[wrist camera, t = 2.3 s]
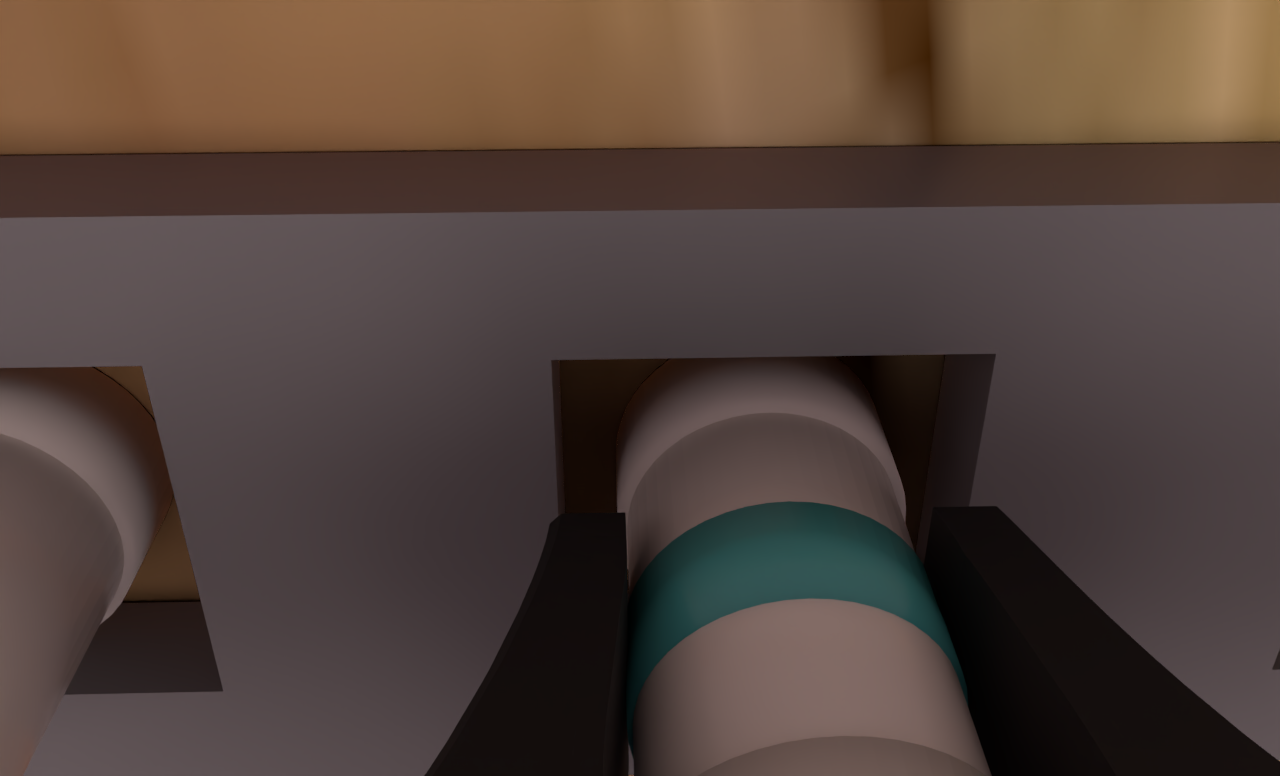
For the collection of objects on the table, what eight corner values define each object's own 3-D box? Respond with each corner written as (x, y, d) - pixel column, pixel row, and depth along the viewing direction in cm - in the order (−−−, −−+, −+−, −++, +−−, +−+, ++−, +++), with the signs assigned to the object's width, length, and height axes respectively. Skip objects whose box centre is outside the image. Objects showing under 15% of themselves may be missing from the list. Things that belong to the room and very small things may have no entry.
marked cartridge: (866, 549, 15) (1046, 1175, 9) (617, 553, 15) (628, 1187, 9) (893, 332, 13) (1137, 914, 7) (614, 335, 13) (624, 927, 7)
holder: (1644, 660, 16) (1735, 749, 15) (-209, 699, 15) (-281, 795, 14) (1956, 136, 12) (2116, 193, 11) (-484, 161, 12) (-619, 224, 10)
